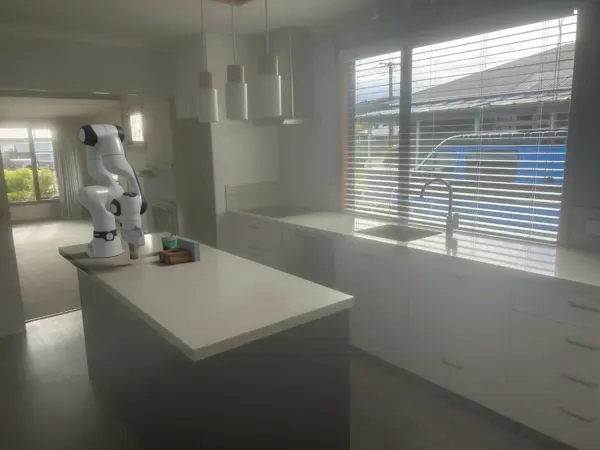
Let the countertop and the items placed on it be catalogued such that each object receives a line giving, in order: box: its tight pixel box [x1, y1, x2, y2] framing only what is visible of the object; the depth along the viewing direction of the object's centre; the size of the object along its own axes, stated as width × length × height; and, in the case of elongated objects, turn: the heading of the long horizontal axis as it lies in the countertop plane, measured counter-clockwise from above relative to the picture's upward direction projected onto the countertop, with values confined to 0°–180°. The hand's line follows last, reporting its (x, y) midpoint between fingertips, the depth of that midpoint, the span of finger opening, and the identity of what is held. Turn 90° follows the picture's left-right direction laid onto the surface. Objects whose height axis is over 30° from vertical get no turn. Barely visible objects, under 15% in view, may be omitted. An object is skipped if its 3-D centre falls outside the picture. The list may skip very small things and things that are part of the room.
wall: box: [177, 236, 201, 262], centre depth 233 cm, size 18×3×10 cm, turn 44°
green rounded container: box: [161, 233, 179, 251], centre depth 245 cm, size 12×6×10 cm, turn 168°
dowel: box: [128, 243, 139, 260], centre depth 222 cm, size 4×4×8 cm
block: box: [158, 248, 192, 266], centre depth 228 cm, size 12×12×5 cm
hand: (133, 251), depth 222 cm, fingers closed on dowel, 4 cm apart
